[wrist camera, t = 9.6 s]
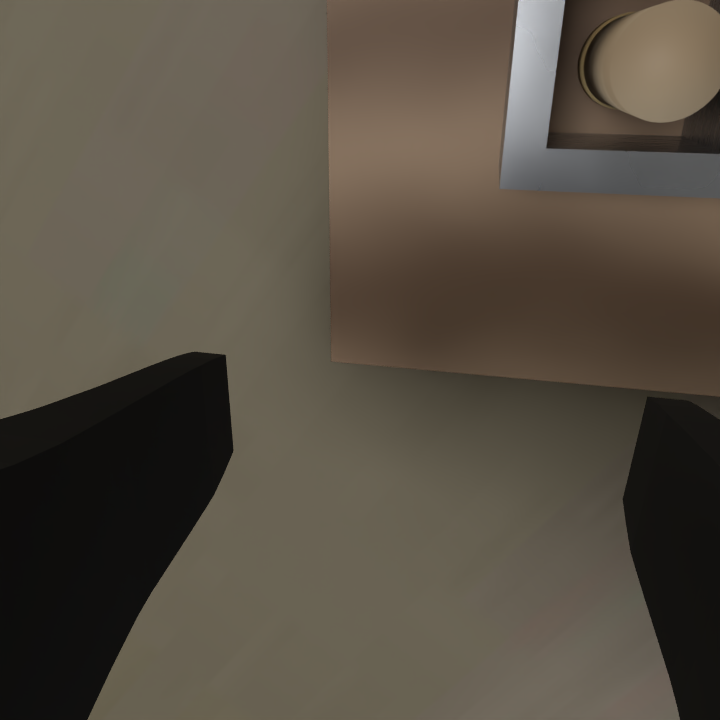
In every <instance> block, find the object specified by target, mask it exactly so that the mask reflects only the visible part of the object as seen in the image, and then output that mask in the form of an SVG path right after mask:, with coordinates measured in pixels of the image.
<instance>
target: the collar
mask: <svg viewBox="0 0 720 720" xmlns="http://www.w3.org/2000/svg"><path fill="white" fill-rule="evenodd" d="M564 5H565V0H515V3H514V13H513V23H512V33H511V44H510V54H509V64H508V74H507V84H506V94H505V104H504V114H503V125H502V135H501V145H500V155H499V165H498V167H499V189H511V190H534V191H557V192H581V193H604V194H627V195H651V196H674V197H697V198H720V89H719V91H718V92H717V94H716V95H715V96H714V97H713V98H712V99H711V100H710V101H709V102H708V103H707V104H706V105H705V106H704V107H702V108H701V109H700V110H698V111H697V112H695V113H693V114H692V115H690V116H688V117H685V120H684V125H683V130H682V134H681V136H666V135H630V134H595V133H559V132H548V130H549V122H550V114H551V107H552V99H553V91H554V83H555V76H556V68H557V60H558V52H559V44H560V37H561V29H562V21H563V13H564ZM709 6H710V7H712V8H713V9H714V10H715V11H717V12H718V13H719V14H720V0H710V3H709Z"/></svg>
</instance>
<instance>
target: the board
mask: <svg viewBox="0 0 720 720" xmlns="http://www.w3.org/2000/svg"><path fill="white" fill-rule="evenodd" d="M514 3H515V0H327V44H328V130H329V217H330V303H331V362H343V363H354V364H365V365H376V366H387V367H398V368H409V369H420V370H431V371H442V372H453V373H464V374H475V375H486V376H497V377H508V378H519V379H530V380H541V381H552V382H563V383H574V384H585V385H596V386H607V387H618V388H629V389H640V390H651V391H662V392H673V393H684V394H695V395H706V396H717V397H720V198H697V197H674V196H651V195H627V194H604V193H581V192H557V191H534V190H511V189H499V167H498V165H499V155H500V145H501V135H502V125H503V114H504V104H505V94H506V84H507V74H508V64H509V54H510V44H511V33H512V23H513V13H514ZM709 3H710V0H565V5H564V13H563V21H562V29H561V37H560V44H559V52H558V60H557V68H556V76H555V83H554V91H553V99H552V107H551V114H550V122H549V130H548V132H559V133H595V134H630V135H666V136H681V134H682V130H683V125H684V120H685V117H688V116H690V115H692V114H693V113H695V112H697V111H698V110H700V109H701V108H702V107H704V106H705V105H706V104H707V103H708V102H709V101H710V100H711V99H712V98H713V97H714V96H715V95H716V94H717V92H718V91H719V89H720V14H719V13H718V12H717V11H715V10H714V9H713V8H712V7H710V6H709Z"/></svg>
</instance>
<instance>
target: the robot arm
mask: <svg viewBox="0 0 720 720" xmlns="http://www.w3.org/2000/svg"><path fill="white" fill-rule="evenodd" d="M232 453H233V440H232V427H231V415H230V403H229V391H228V378H227V366H226V355H222V354H211V353H201V352H191V353H186V354H183V355H179V356H176V357H173V358H170V359H167V360H165V361H162V362H159V363H157V364H154V365H151V366H149V367H146V368H144V369H141V370H139V371H136V372H134V373H131V374H129V375H126V376H124V377H121V378H118V379H116V380H113V381H111V382H108V383H106V384H103V385H101V386H98V387H95V388H93V389H90V390H87V391H84V392H82V393H79V394H76V395H73V396H71V397H68V398H65V399H62V400H59V401H57V402H54V403H51V404H48V405H46V406H43V407H40V408H36V409H33V410H30V411H27V412H24V413H20V414H17V415H14V416H10V417H7V418H3V419H0V720H87V719H88V717H89V715H90V713H91V711H92V709H93V706H94V704H95V702H96V700H97V698H98V696H99V694H100V691H101V689H102V687H103V685H104V683H105V681H106V679H107V677H108V674H109V672H110V670H111V668H112V666H113V664H114V662H115V660H116V658H117V656H118V654H119V652H120V650H121V648H122V646H123V644H124V642H125V640H126V638H127V636H128V634H129V632H130V630H131V628H132V626H133V624H134V622H135V620H136V618H137V616H138V615H139V613H140V611H141V609H142V608H143V606H144V604H145V603H146V601H147V599H148V597H149V596H150V594H151V592H152V591H153V589H154V588H155V586H156V585H157V583H158V582H159V580H160V578H161V577H162V575H163V574H164V572H165V571H166V569H167V568H168V566H169V565H170V563H171V561H172V560H173V558H174V557H175V555H176V554H177V552H178V551H179V549H180V548H181V546H182V544H183V543H184V541H185V540H186V538H187V537H188V535H189V534H190V532H191V531H192V529H193V527H194V526H195V524H196V523H197V521H198V520H199V518H200V516H201V515H202V513H203V512H204V510H205V509H206V507H207V505H208V504H209V502H210V500H211V499H212V497H213V496H214V494H215V491H216V489H217V487H218V485H219V483H220V481H221V479H222V477H223V474H224V472H225V470H226V467H227V465H228V463H229V460H230V458H231V456H232ZM623 505H624V512H625V519H626V526H627V533H628V539H629V545H630V550H631V555H632V558H633V561H634V565H635V568H636V572H637V575H638V578H639V581H640V585H641V588H642V591H643V595H644V598H645V601H646V604H647V607H648V610H649V614H650V617H651V620H652V623H653V626H654V630H655V633H656V636H657V639H658V642H659V645H660V649H661V652H662V655H663V658H664V661H665V665H666V668H667V671H668V674H669V677H670V681H671V685H672V688H673V692H674V696H675V700H676V704H677V707H678V712H679V717H680V720H720V420H719V419H717V418H716V417H714V416H713V415H711V414H710V413H708V412H707V411H705V410H704V409H702V408H700V407H699V406H697V405H695V404H693V403H691V402H689V401H685V400H675V399H665V398H655V397H647V401H646V405H645V409H644V413H643V417H642V422H641V426H640V430H639V434H638V438H637V442H636V447H635V451H634V455H633V459H632V463H631V467H630V472H629V476H628V480H627V484H626V488H625V492H624V496H623Z"/></svg>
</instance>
